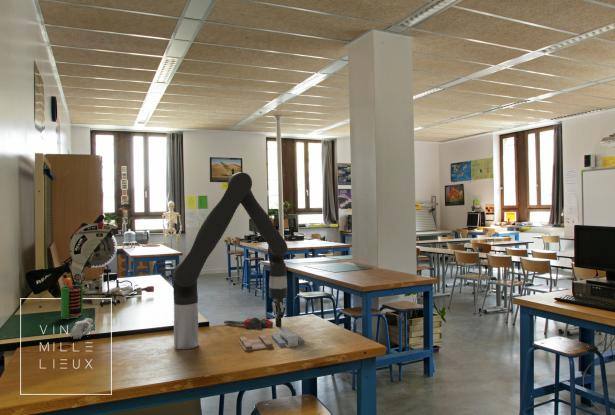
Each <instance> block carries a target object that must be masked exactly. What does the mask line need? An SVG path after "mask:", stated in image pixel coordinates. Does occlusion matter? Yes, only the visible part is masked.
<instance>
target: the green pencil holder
mask: <svg viewBox="0 0 615 415" xmlns="http://www.w3.org/2000/svg"><path fill="white" fill-rule="evenodd" d="M63 283H67V285H64V286H61V287H60V318H61V317H63V318H69V317H75V316H80V315H81V314H82V315H83V308H84V307H83V304H84V303H83V298H84V297H83V296H84V295H83V291H84V290H83V288H84V287H83V285H82V284H73V280H72V278H71V277H65V278H63ZM69 314H75V315H69Z"/></svg>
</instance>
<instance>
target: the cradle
mask: <svg viewBox="0 0 615 415" xmlns="http://www.w3.org/2000/svg"><path fill="white" fill-rule="evenodd" d="M238 344H239V345H240V346H241V348H242V349H243V351H244V352H245V353H247V352H253V351H254V352H255V351H262V350H270V349H274V346H273V342H272V341H271V340H270V339H268V337H267V336H266V335H265V334H259V335H258V338H250V339H248V338H247V337H246V336H240V337H239V340H238Z"/></svg>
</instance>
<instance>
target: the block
mask: <svg viewBox="0 0 615 415" xmlns="http://www.w3.org/2000/svg"><path fill="white" fill-rule="evenodd" d="M296 333H297V332H295V331H294V330H292V329H291V328H290V327H289V326H288V325H287V326H281V327H277V335H278V336H279V337H280V338H281V339H282V340H283V341H284V342H285V344H286V345H287V346H286V347H288V348H290V347H297V346H299V345H298V335H299V334H298V333H297V334H298V335H297V334H296Z"/></svg>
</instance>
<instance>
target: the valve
mask: <svg viewBox="0 0 615 415" xmlns="http://www.w3.org/2000/svg"><path fill="white" fill-rule="evenodd" d="M223 323H224V324H227V325H238V326H239V325H241V326H244V327H245V328H247V329H249V331H251V330H253V331H254V330H261V329H270V328H271V329H272V328H274V322H273V321H272V320H270V319H268V318H262V319H259V318H258V317H252V318H249V317H247V319H244V321H241V320H239V321H238V320H224V321H223Z"/></svg>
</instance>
